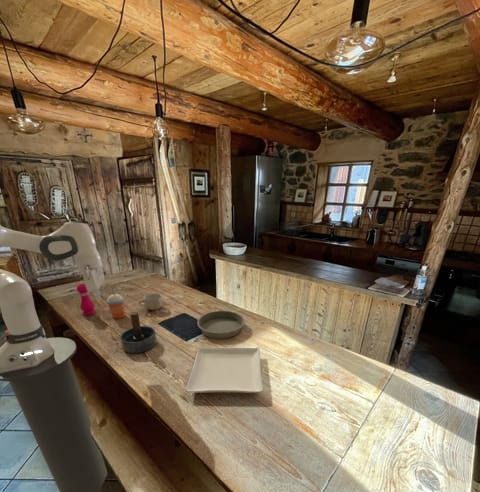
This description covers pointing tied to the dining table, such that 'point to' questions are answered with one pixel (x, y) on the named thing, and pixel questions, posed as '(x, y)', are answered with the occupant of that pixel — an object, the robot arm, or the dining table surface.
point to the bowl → (139, 346)
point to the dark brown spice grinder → (136, 327)
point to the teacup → (152, 301)
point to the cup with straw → (116, 305)
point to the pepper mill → (85, 300)
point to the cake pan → (220, 324)
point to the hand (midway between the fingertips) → (101, 297)
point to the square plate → (226, 371)
